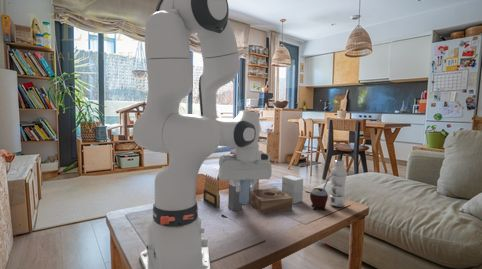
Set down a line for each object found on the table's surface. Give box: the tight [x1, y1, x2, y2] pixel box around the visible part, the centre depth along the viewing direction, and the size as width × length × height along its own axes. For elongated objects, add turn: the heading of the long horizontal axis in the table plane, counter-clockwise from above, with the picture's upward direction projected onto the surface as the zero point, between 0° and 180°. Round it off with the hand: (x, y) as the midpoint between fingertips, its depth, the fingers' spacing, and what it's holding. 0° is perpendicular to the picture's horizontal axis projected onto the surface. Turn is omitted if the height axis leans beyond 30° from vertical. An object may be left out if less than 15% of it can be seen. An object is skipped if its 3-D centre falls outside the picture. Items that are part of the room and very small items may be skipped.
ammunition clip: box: [202, 173, 221, 209], centre depth 112 cm, size 11×2×12 cm, turn 38°
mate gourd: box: [309, 174, 334, 211], centre depth 110 cm, size 8×8×15 cm
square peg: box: [227, 183, 243, 212], centre depth 108 cm, size 4×4×10 cm
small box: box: [281, 174, 304, 204], centre depth 119 cm, size 8×6×10 cm
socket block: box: [248, 187, 293, 214], centre depth 112 cm, size 14×14×5 cm
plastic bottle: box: [328, 159, 348, 208], centre depth 113 cm, size 6×7×20 cm
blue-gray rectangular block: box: [239, 179, 250, 205], centre depth 98 cm, size 4×4×10 cm
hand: (244, 191), depth 98 cm, fingers closed on blue-gray rectangular block, 4 cm apart
